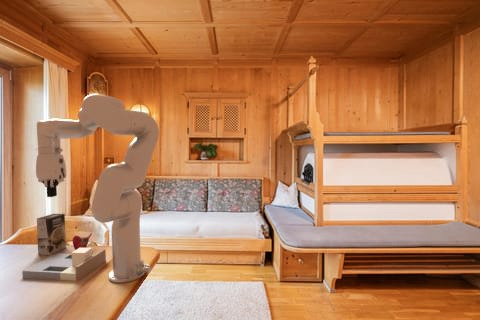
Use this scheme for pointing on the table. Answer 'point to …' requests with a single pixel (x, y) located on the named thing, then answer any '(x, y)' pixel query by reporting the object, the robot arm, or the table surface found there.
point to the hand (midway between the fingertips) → (52, 196)
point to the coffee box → (51, 233)
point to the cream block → (81, 255)
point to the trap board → (64, 267)
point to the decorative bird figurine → (80, 242)
